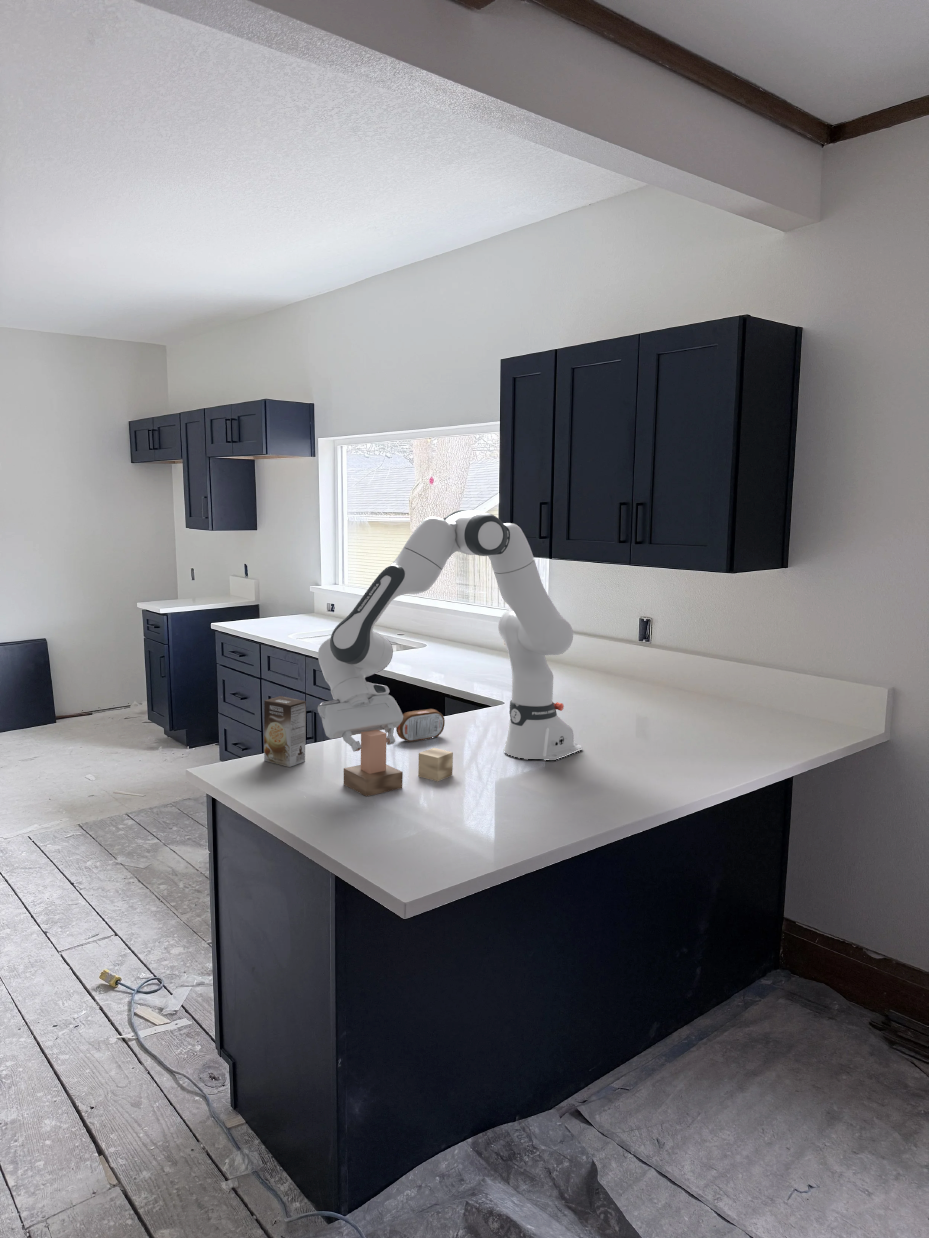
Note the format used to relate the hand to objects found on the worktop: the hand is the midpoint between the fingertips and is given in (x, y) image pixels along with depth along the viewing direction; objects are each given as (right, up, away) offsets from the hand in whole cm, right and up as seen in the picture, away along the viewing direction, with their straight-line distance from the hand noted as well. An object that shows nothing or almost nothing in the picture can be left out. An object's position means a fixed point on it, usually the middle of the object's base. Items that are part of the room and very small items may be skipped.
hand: (375, 746), depth 199 cm
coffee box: (-25, -7, +19) cm, 32 cm away
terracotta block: (-1, -6, +1) cm, 6 cm away
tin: (+9, -5, +43) cm, 44 cm away
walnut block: (-1, -10, +2) cm, 10 cm away
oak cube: (+14, -9, +11) cm, 20 cm away
